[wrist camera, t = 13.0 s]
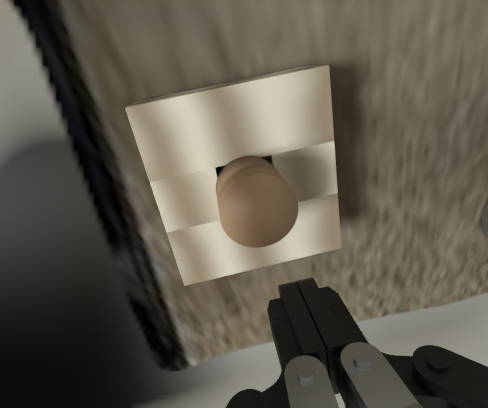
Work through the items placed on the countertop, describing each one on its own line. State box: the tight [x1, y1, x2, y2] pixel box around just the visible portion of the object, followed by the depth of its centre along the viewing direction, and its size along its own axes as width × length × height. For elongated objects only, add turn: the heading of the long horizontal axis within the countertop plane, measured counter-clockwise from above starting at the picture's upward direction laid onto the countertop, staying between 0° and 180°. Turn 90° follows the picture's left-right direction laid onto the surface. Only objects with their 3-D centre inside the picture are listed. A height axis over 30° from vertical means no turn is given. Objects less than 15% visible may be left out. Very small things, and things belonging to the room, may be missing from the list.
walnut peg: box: [216, 156, 298, 248], centre depth 25 cm, size 5×5×10 cm
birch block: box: [125, 65, 341, 286], centre depth 28 cm, size 15×16×5 cm
